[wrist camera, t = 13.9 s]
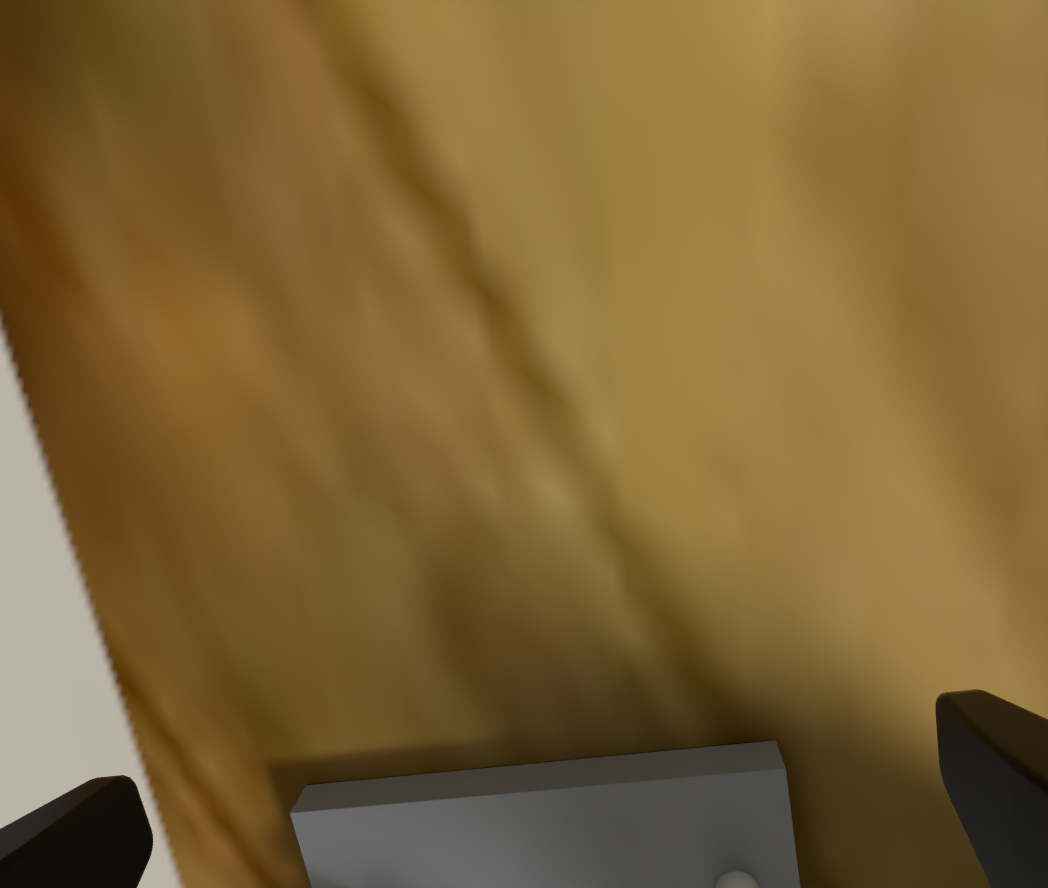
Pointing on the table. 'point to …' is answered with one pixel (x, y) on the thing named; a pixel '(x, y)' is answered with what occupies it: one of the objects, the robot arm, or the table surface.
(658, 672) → the table surface
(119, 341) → the table surface
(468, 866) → the standoff plate
